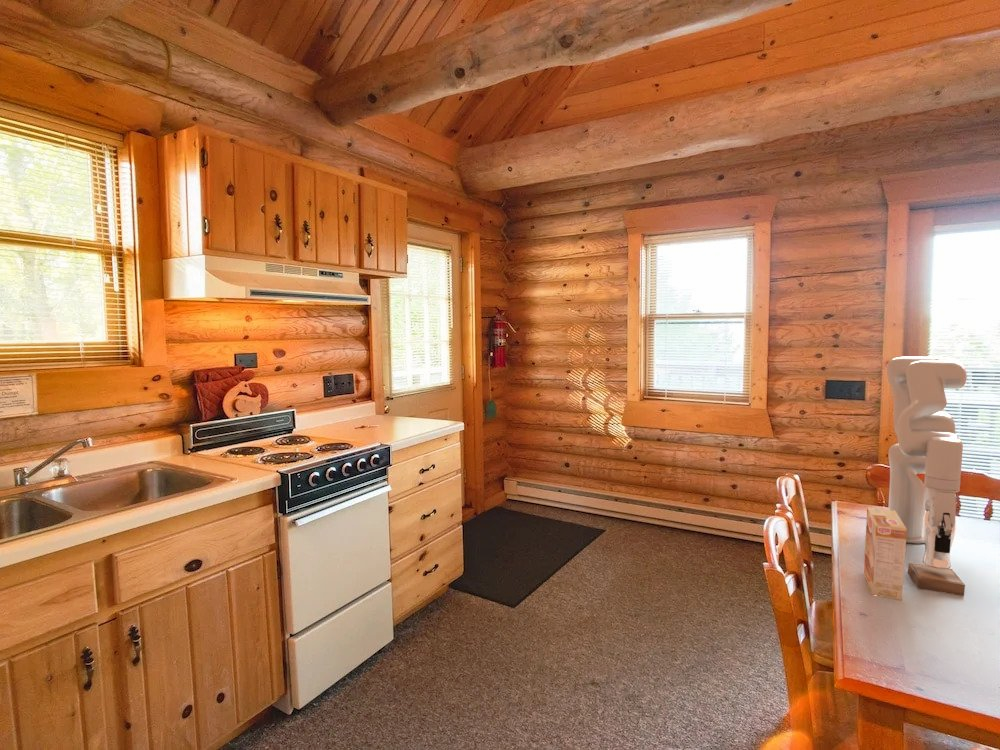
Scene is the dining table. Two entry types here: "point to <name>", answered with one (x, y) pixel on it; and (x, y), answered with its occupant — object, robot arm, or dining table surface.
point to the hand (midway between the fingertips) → (937, 546)
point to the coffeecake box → (885, 553)
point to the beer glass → (931, 556)
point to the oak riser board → (936, 579)
